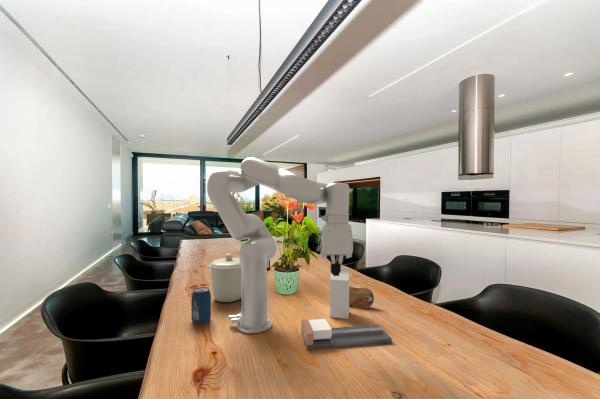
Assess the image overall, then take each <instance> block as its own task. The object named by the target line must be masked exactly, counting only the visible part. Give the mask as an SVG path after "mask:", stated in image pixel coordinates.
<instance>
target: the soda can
mask: <svg viewBox="0 0 600 399" xmlns="http://www.w3.org/2000/svg"><path fill="white" fill-rule="evenodd" d="M211 318H212V292H211V291H210V288H209V287H206V286H205V287H204V286H201V287H197V288H194V289H193V292H192V293H191V320H192V323H193V324H194V323H195V325H204V324H207V323H208V322H209V321H210V320H211Z"/></svg>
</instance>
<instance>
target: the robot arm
mask: <svg viewBox="0 0 600 399" xmlns="http://www.w3.org/2000/svg"><path fill="white" fill-rule="evenodd" d="M239 169H240V170H239V171H236V170H230V169H222V168H221V169H217V170H214V171H213V172H212V173H211V174H210V175H209V177H208V179H207V182H206V191H207V196H208V198H209V200H210V202H211V204H212V206H213V207H214V208H215V209H216V211H217V213H218V215H219V217H220V219H221V221H222V223H223V224H224V226H225V227H226V230H227V231H228V233H229V234H230V236H231V237H232V239H234V240H236V241H244V240H246V239H247V240H248V241H246V242H244V243H243V244H242V245H241V247H240V249H239V253H238V258H239V260H240V265H241V284H242V287H241V298H240V299H241V304H240V305H241V308H240V309H241V310H240V313H238V314H236V315H235V314H228V321H229V322H231V324H233V323H236V329H237V330H238V331H239V332H242V333H245V334H261V333H264V332H265V331H268V330H269V329H271V327H272V326H273V324H272V323H273V322H272V320H271V318H269V317H268V313H269V312H268V308H269V307H268V306H269V305H268V304H269V303H268V301H269V300H268V298H269V297H268V294H269V293H268V292H269V291H268V290H269V288H268V287H269V285H268V284H269V280H268V279H269V278H268V276H269V275H268V270H267V267H266V266H267V265H266V262H269V261H270V260H272V259H273V258H275V256H276V254H277V251H278V248H277V247H278V246H277V243H276V241H275V239H274V237H273V236H272V233H271V232H270V231H269V229H268V227H267V225H266V224H265V223H264V221H263V220H262V219H261V218H260V216H258V215H257V214H254V213H246V212H245V210H244V209H243V208H242V206H241V204H240V202H239V201H238V200H237V198H235V196H234V195H232V193H237V194H238V193H243V192H246V191H248V190H250V189H252V188H255V187H257V186H259V185H261V186H264V187H266V188H269V189H271V190H273V191H276V192H277V193H280V194H282V195H284V196H286V197H289V198H290V199H294V200H296V201H298V202H301V203H303V204H308V205H321V204H325V214H324V216H323V215H322V216H321V221H324V222H325V223H323V226H322V231H321V237H320V238H321V239H320V253H319V256H320V258H322V259H327V260H328V261H329V262H330V274H331V273H332V274H333V275H334V276H339V273H340V272H341V268H342V267H341V266H342V265H341V264H342V263H343V262H344V261H345V260H346V259H349V258H352V257H353V252H354V241H353V228H352V224H350V223H349V215H350V214H349V213H350V186H349V184H348V183H345V182H330V183H324V182H318V181H313V180H312V179H311V180H310V179H308V178H305V177H302V176H301V175H297V174H295V173H293V172H290V171H289V170H287V168H285V167H282V166H279V165H277V164H274V163H271V162H268V161H266V160H264V159H260V158H258V157H254V156H251V157H249V156H248V157H247V158H245V159H243V160H242V161H241V163H240V167H239ZM335 257H336V258H335Z"/></svg>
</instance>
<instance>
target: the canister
mask: <svg viewBox="0 0 600 399" xmlns="http://www.w3.org/2000/svg"><path fill="white" fill-rule="evenodd" d="M208 268H209V271H210V279H211V280H210V281H211V288H212V289H211V290H212V294H213V298H214V299H215V301H217V302H220V303H233V302H236V301H239V300H240V299H241V287H242V284H241V265H240V260H239V257H234V255H233V254H232V253H230V252H229V253H226V254H225V255H224V257H223V258H218V259H214V260H213V261H211V262H210V263H208Z"/></svg>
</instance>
